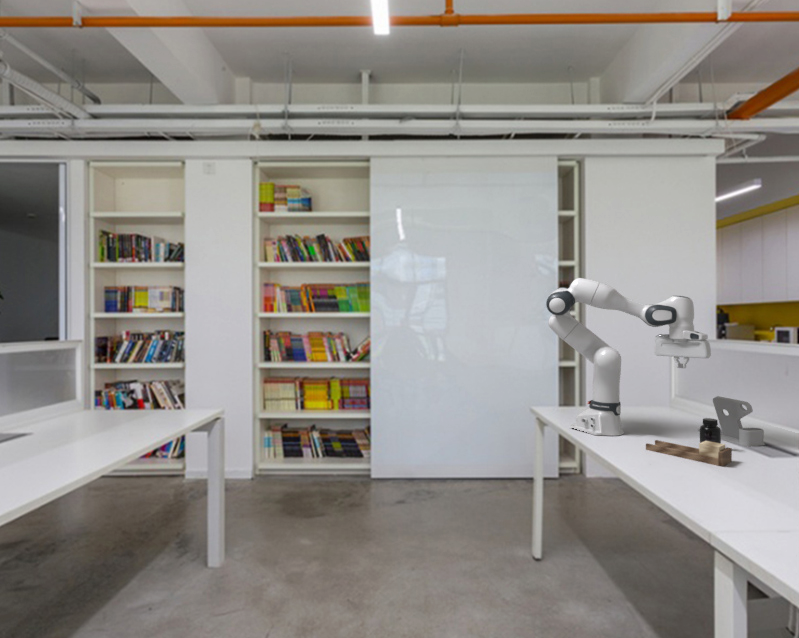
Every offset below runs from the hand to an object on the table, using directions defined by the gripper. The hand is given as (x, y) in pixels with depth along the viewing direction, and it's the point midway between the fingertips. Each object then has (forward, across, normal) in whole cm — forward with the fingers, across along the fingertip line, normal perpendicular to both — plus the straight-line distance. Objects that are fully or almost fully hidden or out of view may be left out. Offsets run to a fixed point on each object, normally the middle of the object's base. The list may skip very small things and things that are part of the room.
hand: (681, 368), depth 187 cm
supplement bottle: (+31, +11, -2) cm, 33 cm away
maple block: (+30, +18, -22) cm, 41 cm away
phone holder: (+31, +13, +22) cm, 41 cm away
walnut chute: (+31, +10, -22) cm, 39 cm away
